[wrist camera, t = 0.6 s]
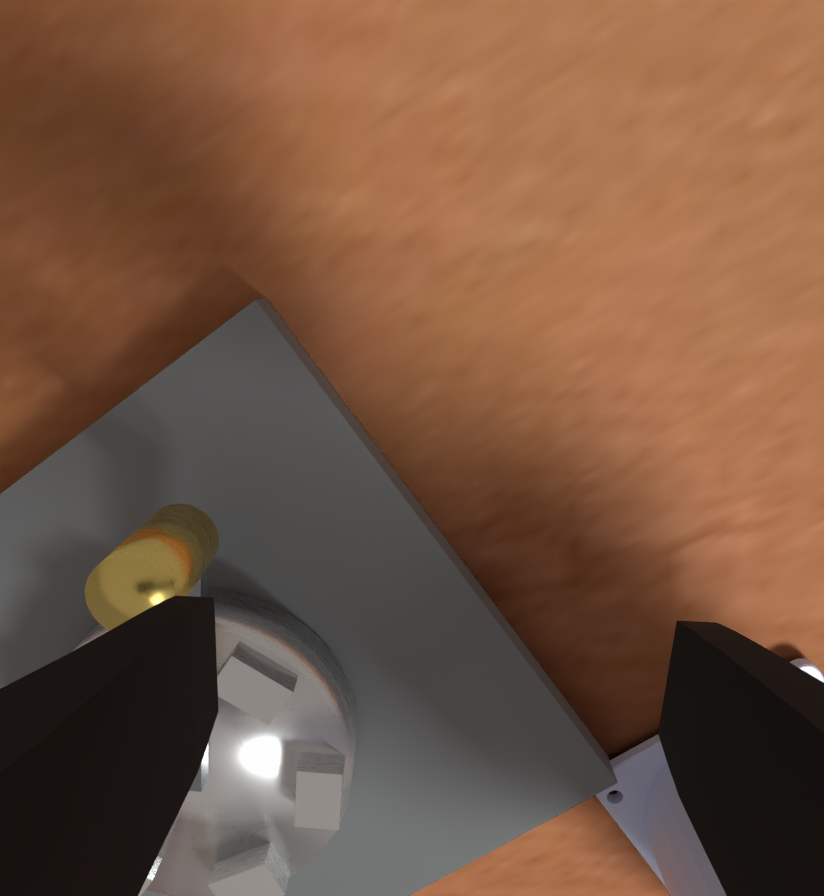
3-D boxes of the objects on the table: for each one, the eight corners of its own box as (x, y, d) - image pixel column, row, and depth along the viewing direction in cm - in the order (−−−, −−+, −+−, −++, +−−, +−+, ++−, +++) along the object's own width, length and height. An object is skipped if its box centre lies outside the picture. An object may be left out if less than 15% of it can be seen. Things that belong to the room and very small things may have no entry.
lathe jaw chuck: (349, 851, 21) (326, 1031, 16) (71, 829, 21) (-39, 1004, 16) (375, 489, 18) (356, 575, 13) (45, 461, 18) (-102, 537, 13)
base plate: (607, 755, 22) (618, 785, 20) (191, 984, 25) (179, 1022, 23) (266, 297, 18) (254, 299, 17) (-177, 632, 21) (-215, 656, 20)
